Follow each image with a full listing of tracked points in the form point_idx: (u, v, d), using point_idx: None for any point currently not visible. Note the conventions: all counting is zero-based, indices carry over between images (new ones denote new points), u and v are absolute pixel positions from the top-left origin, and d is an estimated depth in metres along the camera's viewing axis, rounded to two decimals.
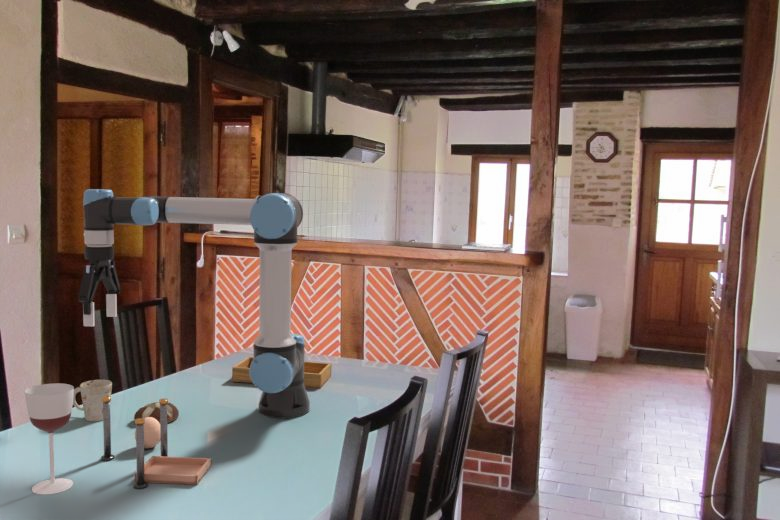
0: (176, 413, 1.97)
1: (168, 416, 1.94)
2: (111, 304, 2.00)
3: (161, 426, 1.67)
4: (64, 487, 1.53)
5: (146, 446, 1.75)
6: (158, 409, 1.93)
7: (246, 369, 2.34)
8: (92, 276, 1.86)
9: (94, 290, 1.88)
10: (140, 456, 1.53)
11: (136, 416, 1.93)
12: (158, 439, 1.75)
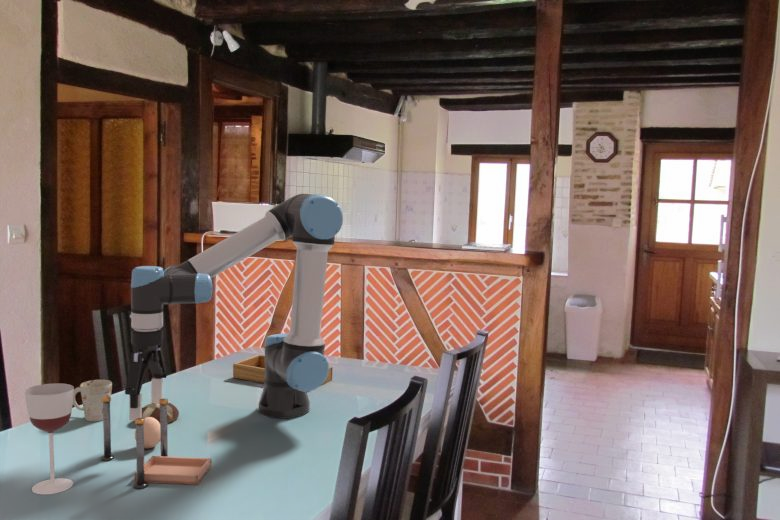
0: (176, 413, 1.97)
1: (168, 416, 1.94)
2: (156, 390, 1.82)
3: (161, 426, 1.67)
4: (64, 487, 1.53)
5: (146, 446, 1.75)
6: (158, 409, 1.93)
7: (245, 366, 2.38)
8: (140, 365, 1.68)
9: (142, 380, 1.69)
10: (140, 456, 1.53)
11: None
12: (158, 439, 1.75)
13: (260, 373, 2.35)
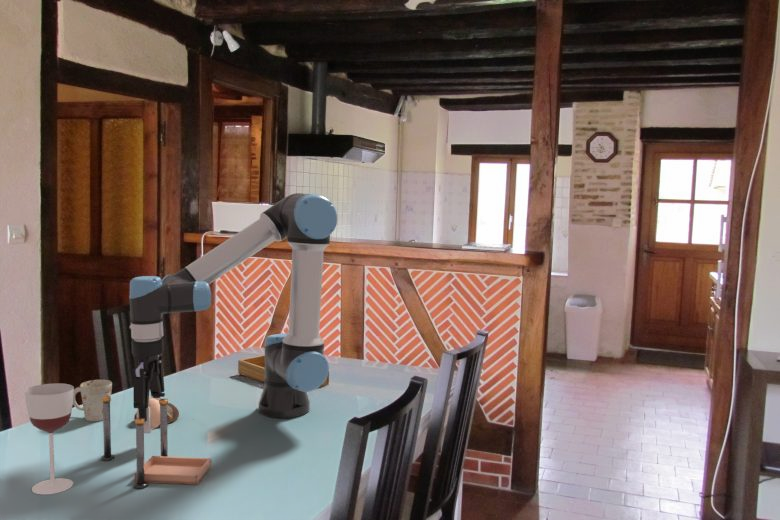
0: (176, 413, 1.97)
1: (168, 416, 1.94)
2: None
3: (161, 426, 1.67)
4: (64, 487, 1.53)
5: None
6: None
7: (246, 363, 2.41)
8: (144, 380, 1.69)
9: (148, 393, 1.72)
10: (140, 456, 1.53)
11: (136, 416, 1.93)
12: None
13: (258, 371, 2.37)
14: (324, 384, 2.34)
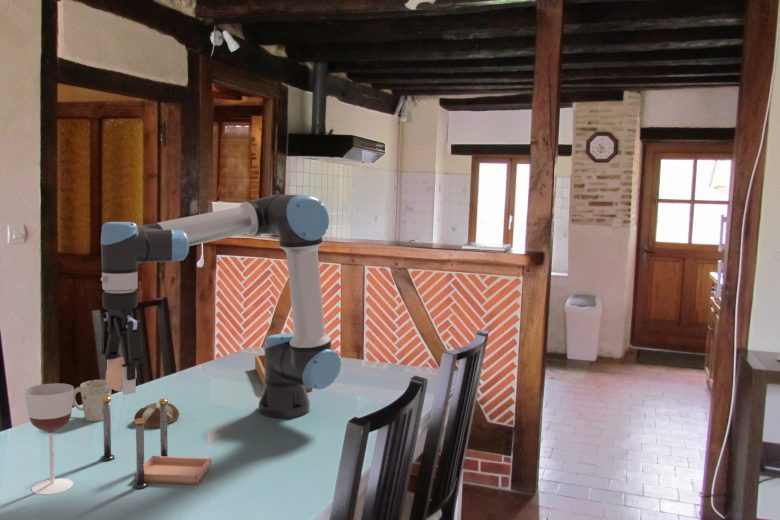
0: (176, 414, 1.96)
1: (168, 417, 1.93)
2: None
3: (161, 426, 1.67)
4: (64, 487, 1.53)
5: None
6: (158, 410, 1.93)
7: (256, 359, 2.47)
8: None
9: None
10: (140, 456, 1.53)
11: (136, 417, 1.92)
12: None
13: None
14: (306, 390, 2.27)
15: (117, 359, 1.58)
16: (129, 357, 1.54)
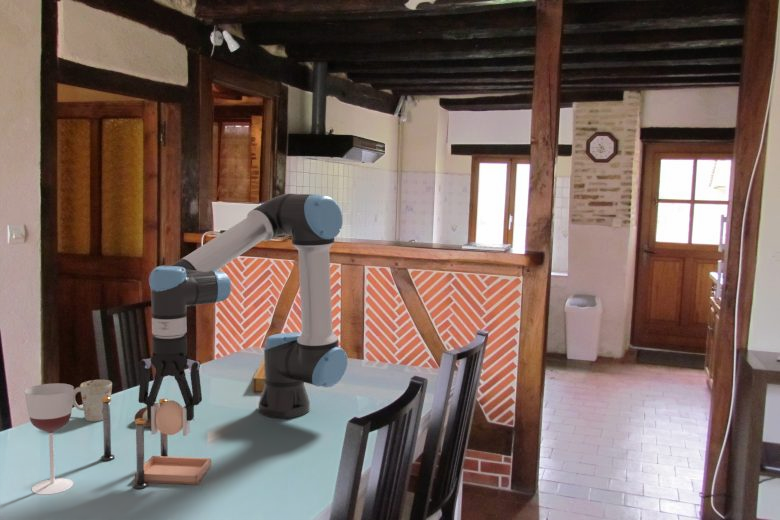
0: None
1: None
2: None
3: None
4: (64, 487, 1.53)
5: (181, 428, 1.61)
6: None
7: None
8: None
9: None
10: (140, 456, 1.53)
11: (136, 417, 1.92)
12: None
13: None
14: None
15: (170, 403, 1.59)
16: (195, 397, 1.58)
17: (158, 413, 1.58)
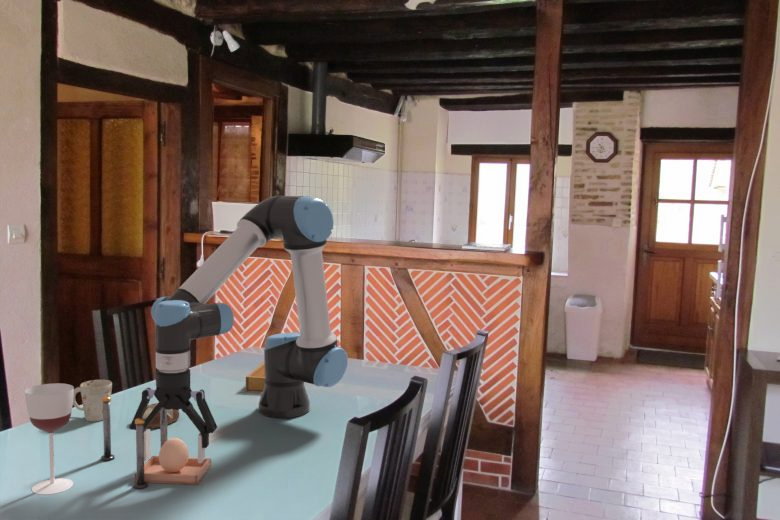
0: (177, 414, 1.96)
1: (168, 417, 1.93)
2: (148, 443, 1.61)
3: (161, 426, 1.67)
4: (64, 487, 1.53)
5: (184, 466, 1.62)
6: None
7: None
8: None
9: None
10: (140, 456, 1.53)
11: None
12: None
13: None
14: None
15: (173, 441, 1.60)
16: (209, 426, 1.59)
17: (161, 451, 1.59)
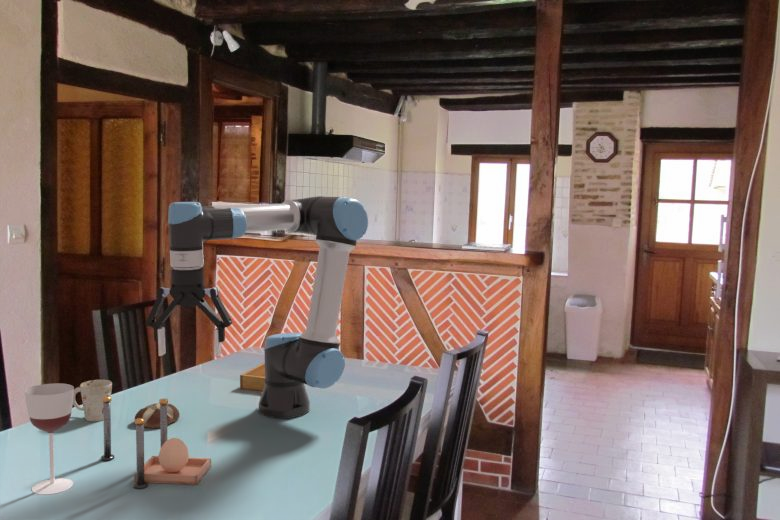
0: (177, 414, 1.96)
1: (169, 417, 1.93)
2: (163, 339, 1.67)
3: (161, 426, 1.67)
4: (64, 487, 1.53)
5: (184, 466, 1.62)
6: (159, 410, 1.92)
7: None
8: None
9: None
10: (140, 456, 1.53)
11: (136, 417, 1.92)
12: None
13: None
14: None
15: (173, 441, 1.60)
16: (224, 320, 1.65)
17: (161, 451, 1.59)
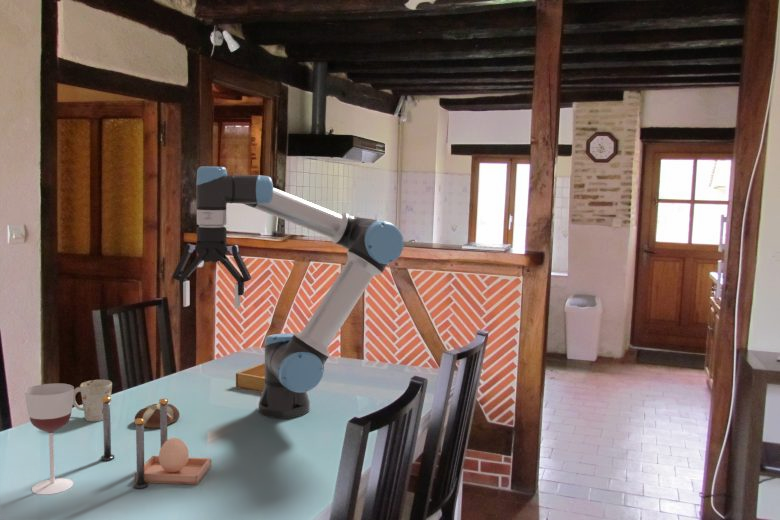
0: (177, 415, 1.96)
1: (169, 418, 1.93)
2: (187, 292, 1.84)
3: (161, 426, 1.67)
4: (64, 487, 1.53)
5: (184, 466, 1.62)
6: (159, 410, 1.92)
7: None
8: None
9: None
10: (140, 456, 1.53)
11: (136, 417, 1.92)
12: None
13: None
14: None
15: (173, 441, 1.60)
16: (244, 275, 1.81)
17: (161, 451, 1.59)
